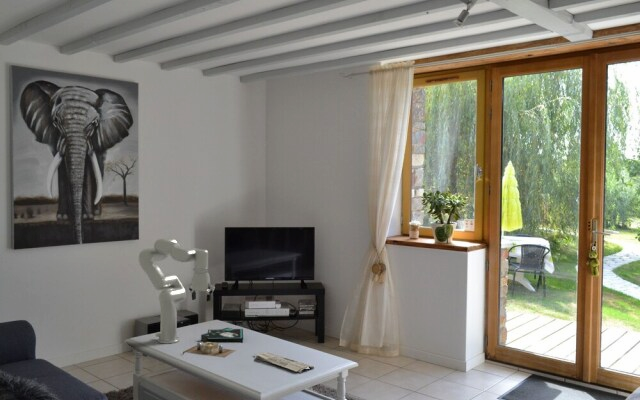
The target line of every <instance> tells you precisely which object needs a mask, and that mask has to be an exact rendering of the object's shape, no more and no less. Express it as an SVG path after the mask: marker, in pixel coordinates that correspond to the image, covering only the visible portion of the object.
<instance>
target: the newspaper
mask: <svg viewBox="0 0 640 400" xmlns="http://www.w3.org/2000/svg"><path fill="white" fill-rule="evenodd" d="M255 355H256V356H255V359H257V360H259V361H263V362H267V363H269V364H272V365H276V366H279V367H281V368H285V369H288V370H291V371H293V372H296V373H300V374H301V373H303V370H304V369H305V368H307V367H309V368H314V369H315V367H314V366H313V365H310V364H307V363H304V362H300V361H296V360H294V359H290V358H287V357H283V356H280V355H277V354H274V353H270V352H266V351H265V352H260V353H255ZM305 370H306V369H305Z"/></svg>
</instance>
